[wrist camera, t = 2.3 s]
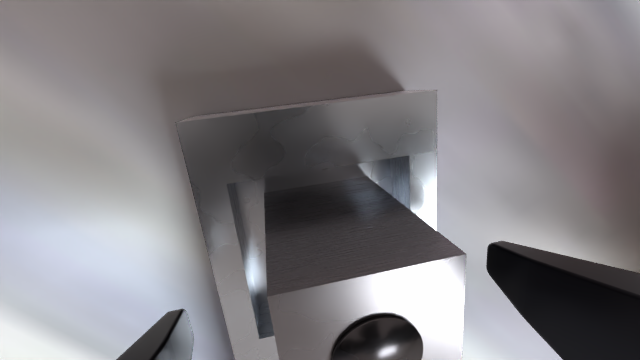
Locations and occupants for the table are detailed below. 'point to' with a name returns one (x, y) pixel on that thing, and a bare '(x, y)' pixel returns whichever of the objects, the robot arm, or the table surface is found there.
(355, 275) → the metal drawer with knob
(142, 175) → the table surface
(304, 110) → the metal tray
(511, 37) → the table surface
